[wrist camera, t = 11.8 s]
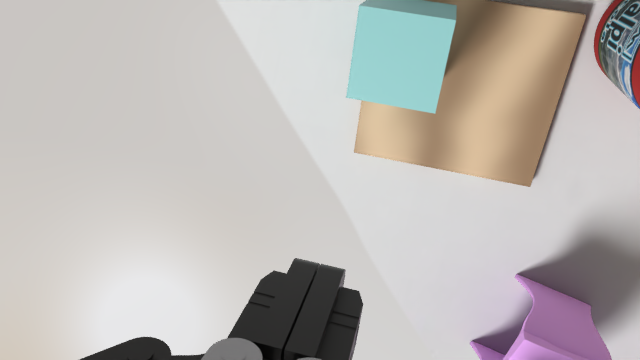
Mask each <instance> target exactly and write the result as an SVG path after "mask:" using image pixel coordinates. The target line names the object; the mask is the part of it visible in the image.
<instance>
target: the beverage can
mask: <svg viewBox="0 0 640 360" xmlns="http://www.w3.org/2000/svg"><path fill="white" fill-rule="evenodd" d="M594 52H595V57H596V60H597V63H598V65H599V67H600V68H601V70H602V71H603V73H604V74H605V75H606V76H607V77H608V78H609V79H610V80H611V81H612V82H613V83H614V84H615V85H616V86H617V87H618V88H619V89H620V90H621V91H622V92H623V93H624V94H625V95H626V96H627V97H628V98H629V99H630V100H631V101H632V102H633V103H634V104H635V105H636V106H637V107H638V108H639V109H640V0H615V1H614V2H613V3H612V4H611V5H610V6H609V7H608V9H607V10H606V11H605V13H604V14H603V16H602V18H601V20H600V22H599V24H598V26H597V29H596V33H595V38H594Z"/></svg>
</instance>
